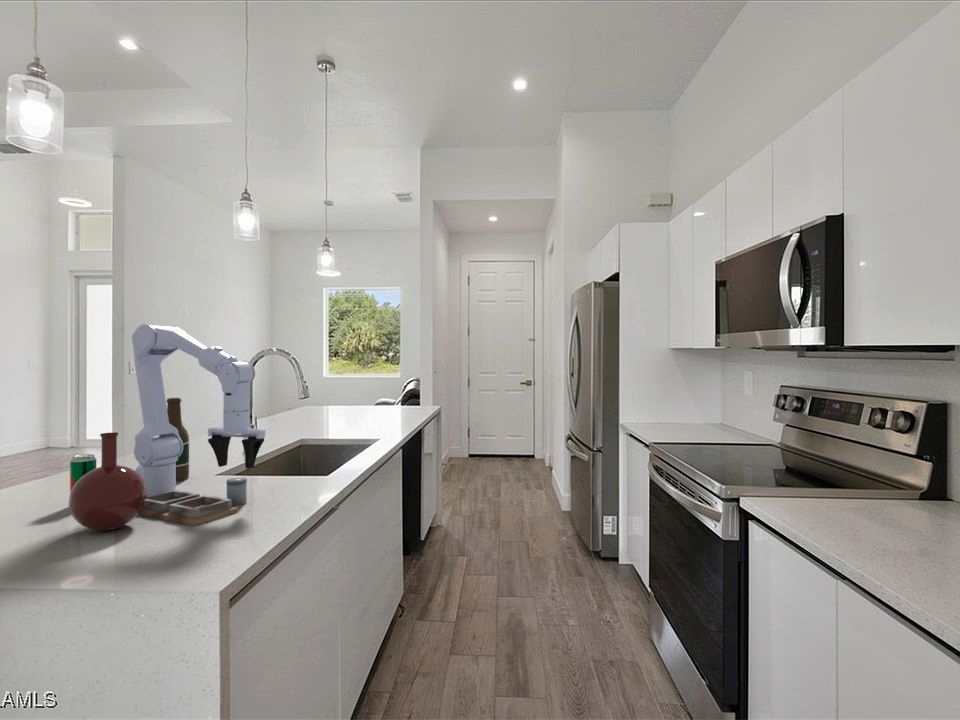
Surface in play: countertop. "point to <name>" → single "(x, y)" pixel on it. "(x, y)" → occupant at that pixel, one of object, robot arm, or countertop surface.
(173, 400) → the beer bottle
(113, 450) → the round-bottom flask
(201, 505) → the caddy
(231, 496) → the grey plastic cylinder
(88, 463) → the soda can
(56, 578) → the countertop surface
